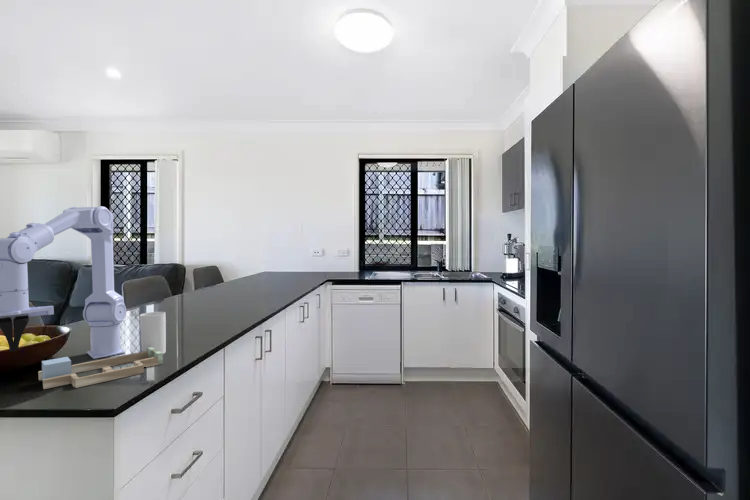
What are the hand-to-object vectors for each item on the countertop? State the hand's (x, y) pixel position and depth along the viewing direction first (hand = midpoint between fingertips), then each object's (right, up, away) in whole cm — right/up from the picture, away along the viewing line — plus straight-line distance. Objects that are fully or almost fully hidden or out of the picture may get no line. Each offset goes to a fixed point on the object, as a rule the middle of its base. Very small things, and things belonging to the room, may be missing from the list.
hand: (13, 350), depth 91 cm
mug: (+16, -8, +30) cm, 35 cm away
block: (+5, -9, +6) cm, 12 cm away
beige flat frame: (+14, -8, +11) cm, 19 cm away
